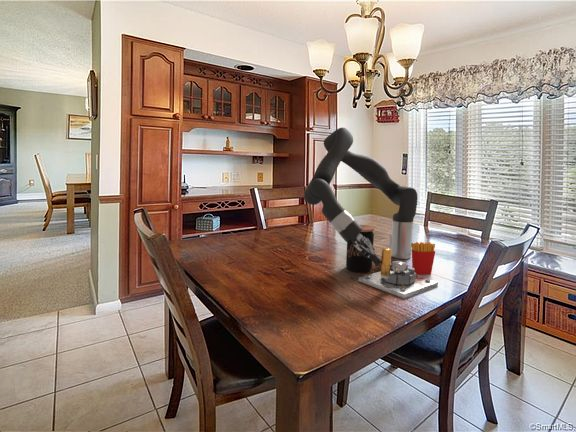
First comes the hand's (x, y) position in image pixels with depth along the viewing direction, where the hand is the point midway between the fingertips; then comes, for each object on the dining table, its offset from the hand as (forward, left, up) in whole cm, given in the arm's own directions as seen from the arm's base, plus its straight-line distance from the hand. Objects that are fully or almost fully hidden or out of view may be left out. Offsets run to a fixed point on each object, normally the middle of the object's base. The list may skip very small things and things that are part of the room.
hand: (379, 263), depth 119 cm
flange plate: (0, +11, -10) cm, 15 cm away
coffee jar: (-20, +12, -10) cm, 25 cm away
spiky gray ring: (+1, +8, -8) cm, 11 cm away
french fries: (-2, +29, -10) cm, 31 cm away
